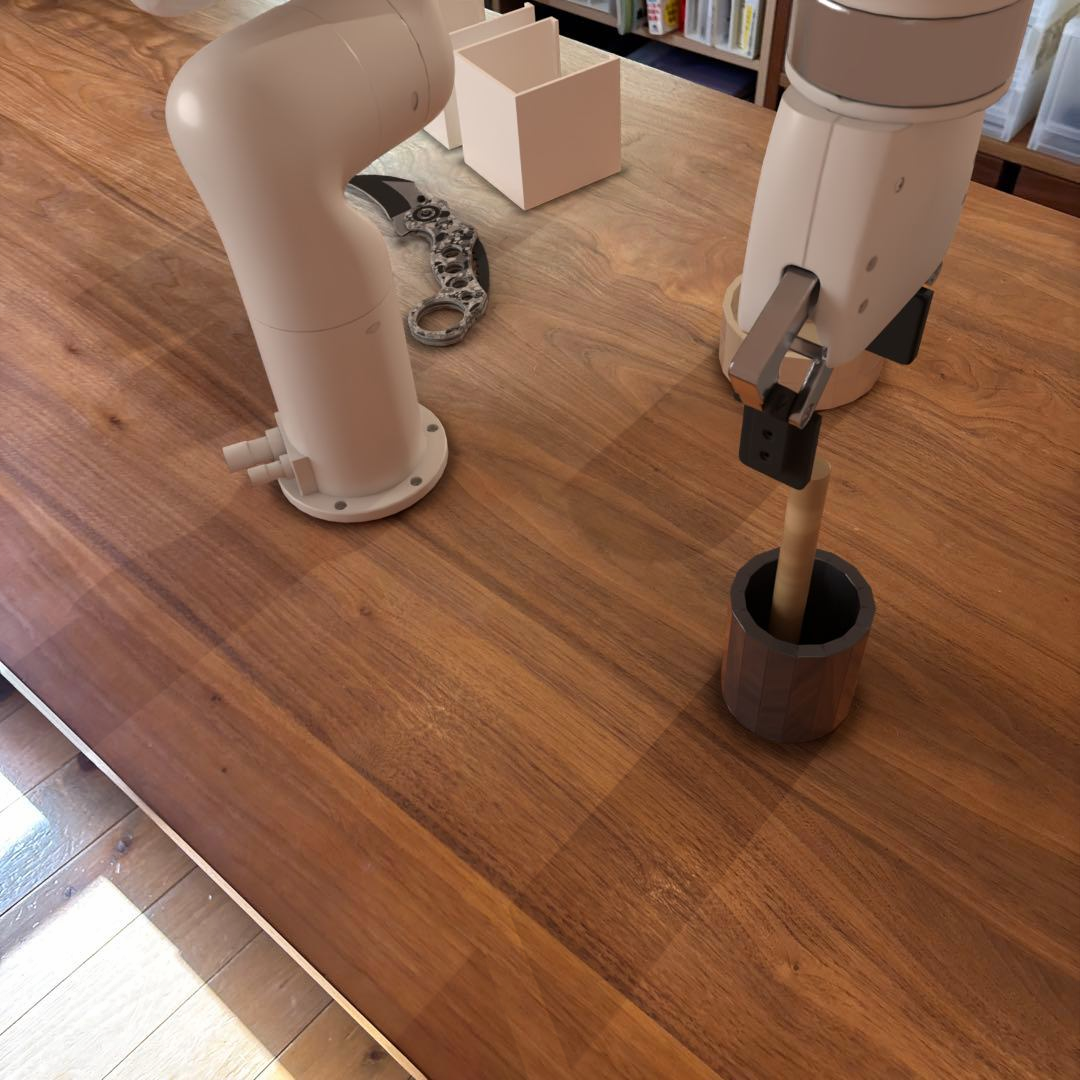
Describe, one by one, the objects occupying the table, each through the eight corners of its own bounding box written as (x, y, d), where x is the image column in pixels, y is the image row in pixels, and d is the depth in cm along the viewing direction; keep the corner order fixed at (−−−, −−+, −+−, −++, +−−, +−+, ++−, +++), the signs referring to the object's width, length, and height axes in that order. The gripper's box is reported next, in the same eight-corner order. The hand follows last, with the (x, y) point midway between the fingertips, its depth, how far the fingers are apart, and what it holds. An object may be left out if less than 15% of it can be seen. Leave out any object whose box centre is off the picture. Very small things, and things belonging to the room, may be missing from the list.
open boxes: (397, 108, 117) (379, 1, 109) (486, 76, 121) (475, -30, 112) (524, 210, 102) (515, 97, 94) (621, 170, 106) (620, 57, 98)
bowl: (767, 435, 81) (774, 377, 77) (692, 340, 89) (694, 283, 84) (912, 388, 83) (926, 329, 79) (826, 299, 91) (835, 241, 87)
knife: (332, 173, 107) (431, 144, 108) (336, 187, 108) (434, 158, 109) (404, 348, 89) (521, 311, 90) (408, 362, 90) (524, 326, 91)
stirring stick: (773, 698, 65) (809, 485, 52) (754, 676, 66) (784, 463, 53) (797, 684, 66) (839, 470, 52) (778, 663, 67) (814, 448, 54)
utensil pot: (759, 766, 63) (774, 676, 56) (698, 665, 68) (706, 572, 61) (875, 720, 65) (903, 627, 58) (808, 624, 70) (826, 529, 63)
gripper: (918, -85, 43) (848, 284, 56) (662, 105, 34) (650, 488, 47) (1115, -43, 39) (992, 339, 52) (885, 179, 31) (806, 568, 44)
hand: (830, 409), depth 50 cm, fingers open, 9 cm apart
